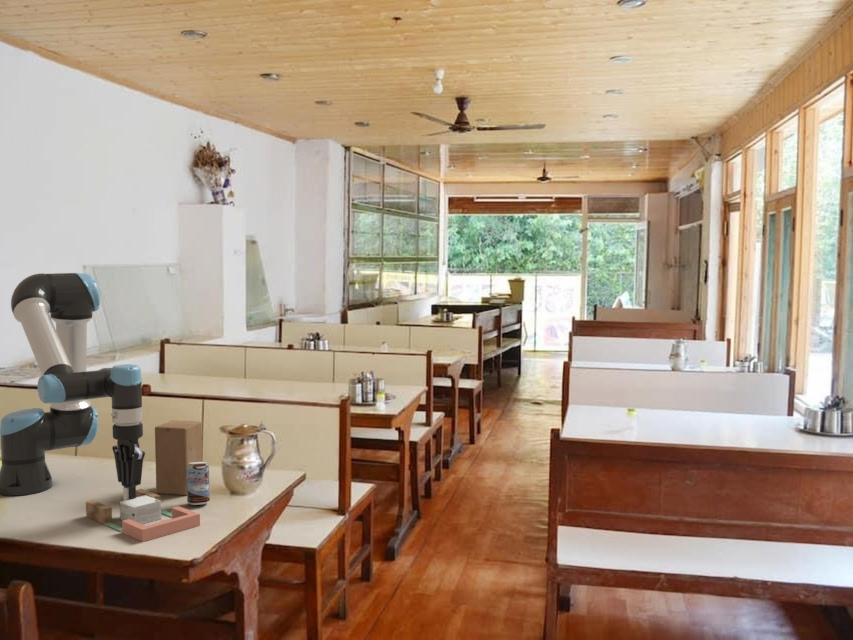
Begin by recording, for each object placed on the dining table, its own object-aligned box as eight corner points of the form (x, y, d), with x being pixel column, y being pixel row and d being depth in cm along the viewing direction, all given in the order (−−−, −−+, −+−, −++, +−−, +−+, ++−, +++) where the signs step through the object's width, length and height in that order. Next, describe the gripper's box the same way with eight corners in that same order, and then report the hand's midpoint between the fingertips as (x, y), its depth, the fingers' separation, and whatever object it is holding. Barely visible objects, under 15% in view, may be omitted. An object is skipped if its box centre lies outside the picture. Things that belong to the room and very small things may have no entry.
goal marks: (104, 524, 205) (104, 523, 205) (160, 510, 217) (160, 509, 217) (120, 531, 199) (120, 530, 199) (176, 516, 211) (176, 515, 211)
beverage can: (189, 509, 217) (188, 466, 217) (184, 501, 224) (183, 460, 223) (212, 506, 220) (212, 463, 219) (207, 498, 227) (206, 457, 226)
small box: (119, 520, 208) (119, 501, 208) (147, 513, 214) (146, 494, 214) (134, 526, 203) (133, 507, 203) (162, 519, 209) (161, 500, 209)
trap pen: (122, 532, 199) (121, 520, 198) (178, 517, 211) (178, 506, 211) (142, 541, 192) (142, 529, 192) (200, 525, 204) (199, 514, 204)
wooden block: (186, 495, 230) (185, 428, 228) (155, 493, 232) (154, 426, 230) (203, 486, 240) (202, 421, 238) (173, 484, 242) (171, 419, 240)
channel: (86, 516, 211) (85, 501, 211) (141, 502, 223) (141, 488, 223) (104, 524, 205) (104, 509, 204) (160, 510, 217) (160, 495, 216)
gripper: (101, 422, 211) (104, 508, 213) (126, 428, 203) (129, 518, 205) (128, 417, 217) (130, 501, 219) (153, 424, 208) (155, 511, 210)
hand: (130, 509), depth 212 cm, fingers closed
